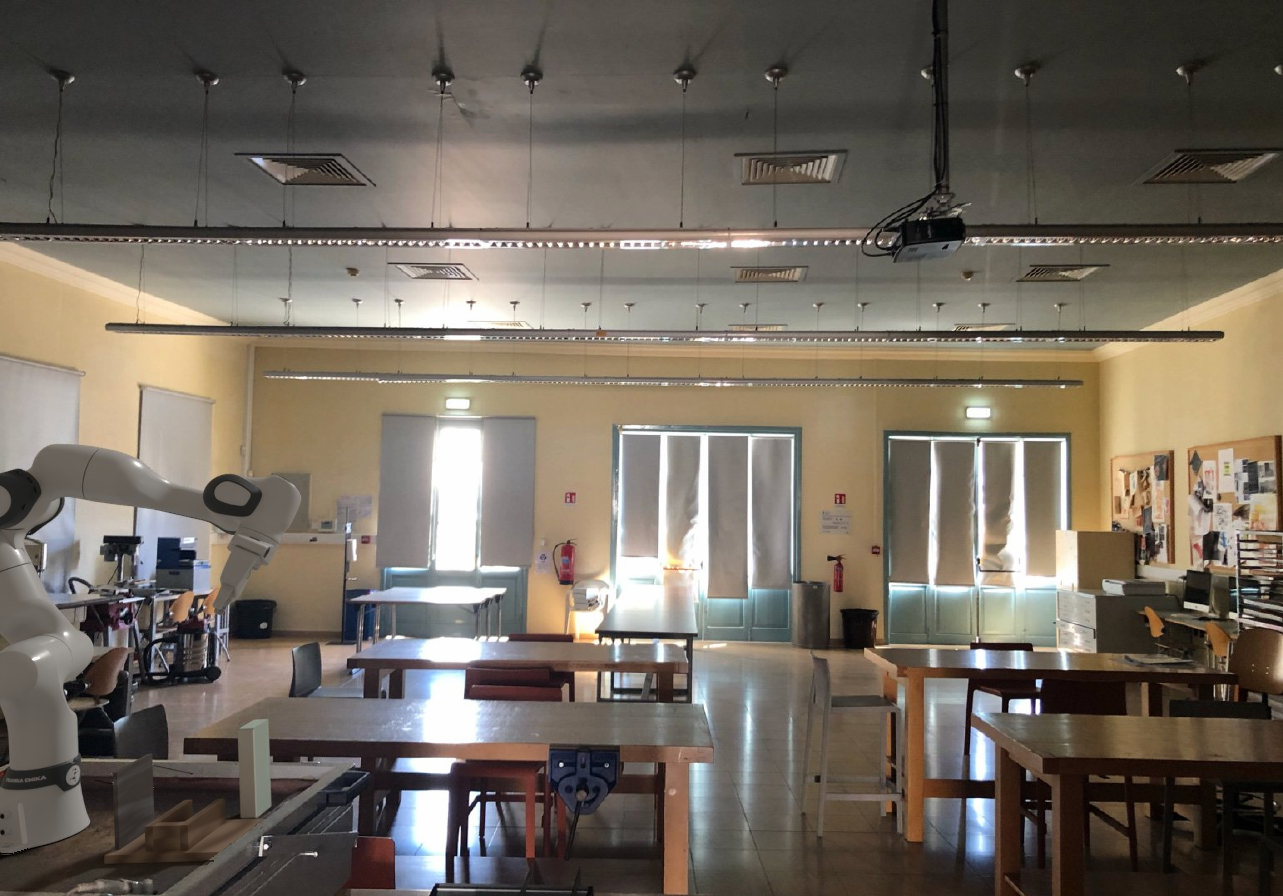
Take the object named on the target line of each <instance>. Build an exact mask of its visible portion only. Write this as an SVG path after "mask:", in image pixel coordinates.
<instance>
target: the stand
mask: <svg viewBox="0 0 1283 896" xmlns="http://www.w3.org/2000/svg"><path fill="white" fill-rule="evenodd" d="M153 764H154V762H153V753H146V755H143V756H141V757H140V758H138V759H136V760H134V761H132V762H130V763H129V764H127V765H125V766H122V767H121V768H119V769H117V770H115V771H113V772H112V773H113V775H112V783H113V784H112V785H113V786H112V788H113V790H112V791H113V793H112V794H113V821H114V822H113V823H114V824H113V827H114V828H113V829H114V848H113V849H112V850H109V852H107V853H106V854H104V855H103V857H104V858H103V860H104V865H107V864H109V865H110V864H141V863H142V864H145V863H147V864H148V863H174V862H175V863H177V862H179V863H181V862H205V861H204V860H208V859H209V858H210V857H214V855H216V854H217V853H219V852H221V851H222V850H223V849H224V848H226V847H227V846H228V845H229V844H230V843H233V842H234V841H236V840H237V839H238V838H240V837H241V836H243V834H245V833H247V832H248V831H249V830H250V829H252V828H253V827H254V826H255V825H256V824H258V823H259V822H260V821H262V820H263V821H264V818H251V819H242V818H240V819H239V818H238V819H226V799H225V798H216V799H214V800H213V801H212V802H211V803H209V804H208V805H206V806H205V807H204V808H202V809H201V810H199V811H198V812H196V813H195V814H194V811H193V799H184V800H183V801H181V802H179V803H178V804H177V805H174V806H173V807H172V808H170V809H169V810H167V811H165V813H163V814H162V815H160V816H158V817H157V818H155V802H154V798H155V797H154V793H155V792H154V789H153V788H154V766H153Z"/></svg>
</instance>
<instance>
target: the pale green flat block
mask: <svg viewBox="0 0 1283 896" xmlns="http://www.w3.org/2000/svg"><path fill="white" fill-rule="evenodd" d="M269 724H270V723H269V718H263V719H258V718H257V719H253V720H251V721H249V722H248V723H246V724H244V725H243V726H241V727H239V728H238V730H237V742H238V743H237V749H238V775H239V776H238V777H239V802H240V803H239V805H240V807H239V808H240V812H239V813H240V818H241V819H258V818H259V817H260V816H261V815H262V814H263V813H265V812H266V811H267V810H268V809H269V808H271V807H272V791H271V790H272V789H271V788H272V785H271V762H270V761H271V759H270V756H271V755H270V729H269V726H270V725H269Z"/></svg>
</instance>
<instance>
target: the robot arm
mask: <svg viewBox="0 0 1283 896" xmlns="http://www.w3.org/2000/svg"><path fill="white" fill-rule="evenodd" d="M65 498H73V499H78V500H79V499H80V500H82V501H83V500H84V501H90V502H95V503H101V504H107V505H108V504H109V505H116V506H123V507H125V506H127V507H133V508H140V509H147V510H154V511H159V512H163V513H168V514H172V515H176V516H180V517H186V518H191V519H194V520H199V521H202V522H207V523H208V524H210V525H213V526H215V527H216V528H217V529H219V530H220V531H221V532H223V533H225V534H228V535H231V536H232V538H231V539H230V541H229V543H228V545H227V546H226V549H227V550H228V552H230V553H229V556H228V558H227V559H226V562H225V564H224V566H223V569H222V572H221V574H220V577H219V580H220V588H219V590H218V592H217V595H216V598H215V599H214V601H213V602H212V607H213V608H214V610H213V613H214V614H215V615H218V616H223V615H224V612H226V610H227V608H228V606H229V605H230V604H231V602H232V601H233V599H239V598H240V596H241V594H242V593H243V591H244V589H245V587H246V585H247V584H248V582H249V580H250V578H251V576H252V574H253V572H254V571H259V570H260V568H261V566H269V565H270V563H271V562H272V560H273V558H274V555H275V554H276V552H277V550H278V548H279V546H280V544H281V541H282V539H283V535H284V534H285V532H286V531H287V530H288V529H290V527H291V524H292V523H293V522H294V521H293V520H294V519H295V517H296V515H297V513H298V511H299V508H300V505H301V502H302V495H301V491H300V490H299V488H298V487H297V486H296V484H294V483H293V482H291V481H290V480H289V479H287V478H285V477H283V476H280V475H277V474H272V475H269V476H263V477H261V476H260V477H255V476H254V477H253V476H251V477H249V476H241V475H238V474H234V473H224V474H221V475H218V476H215V477H213V478H212V479H211V480H210V481H209V482H208V483H207V484H206V486H205V487H204V490H202V489H197V488H193V487H188V486H185V485H180V484H177V483H174V482H172V481H170V480H168V479H166V478H165V477H163V476H162V475H160V474H158V473H157V472H156V471H155V470H153V469H152V468H151V467H150V466H148V465H147V463H145V462H143V460H141V459H139V458H137V457H135V456H134V455H130V454H127V453H124V452H121V451H117V450H115V449H109V448H104V447H99V446H93V445H87V444H75V443H74V444H71V443H70V444H69V443H53V444H49V445H47V446H44V447H43V448H42V449H41V450H39V451H38V453H37V454H36V456H35V457H34V459H33V461H32V464H31V467H29V468H28V469H25V470H24V469H22V468H14V469H10V470H6V471H3V472H0V635H1V636H2V637H3V638H4V639H5V640H6V642H7V643H8V644H9V645H8V646H6V647H4V648H3V649H2V650H0V708H1V711H2V714H3V716H4V719H5V723H6V726H7V735H8V751H9V752H8V755H9V766H7V767H6V768H5V769H3V770H1V771H0V779H1V778H3V779H2V781H1V784H0V852H1V853H13V854H15V853H14V852H17V851H20V852H22V851H21V850H23V851H25V850H24V849H26V850H27V848H28V849H31V848H35V847H36V848H37V847H39V846H43V845H48V844H51V843H55V842H58V841H61V840H63V839H66V838H68V837H72V836H73V835H76V834H78V833H80V832H81V831H83V830H84V829H86V828H87V827H88V826H89V825H90V823H91V820H90V817H89V815H88V812H87V809H86V805H85V801H84V795H83V792H82V791H83V790H82V785H81V779H82V778H81V777H82V770H83V769H82V755H81V753H80V752H79V737H78V736H79V734H78V733H79V731H78V728H79V727H78V716H77V714H76V712H75V711H74V710H72V709H71V708H70V706H69V704H68V702H67V697H66V696H65V693H64V684H65V683H68V682H69V681H71V680H73V679H75V678H76V677H78V676H79V675H80V674H81V673H83V671H84V670H85V669H86V668H87V667H88V665H90V663H91V662H92V660H93V657H94V653H95V649H94V648H95V646H94V643H93V642H92V639H91V638H90V637H89V635H87V634H86V633H84V632H83V631H81V630H78V629H77V628H76V627H75V626H74V625H72V623H71V622H70V621H69V620H68V618H66V616H65V615H64V614H63V612H61V610H60V609H59V608H58V607H57V606H56V604H55V603H54V602H53V600H52V599H51V597H50V596H49V594H48V592H47V590H46V588H45V586H44V584H43V582H42V580H41V578H40V576H39V574H38V572H37V569H36V568H35V565H34V564H33V562H32V560H31V557H30V555H29V554H28V552H27V549H26V545H25V538H26V536H33V535H35V534H36V533H38V531H40V530H41V529H42V528H43V527H45V526H46V525H48V524H49V523H51V522H53V521H54V519H57V517H58V516H59V515H60V514H61V512H62V511H63V510H64V507H65V504H66V503H65V502H66V499H65ZM17 853H18V852H17Z"/></svg>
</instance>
